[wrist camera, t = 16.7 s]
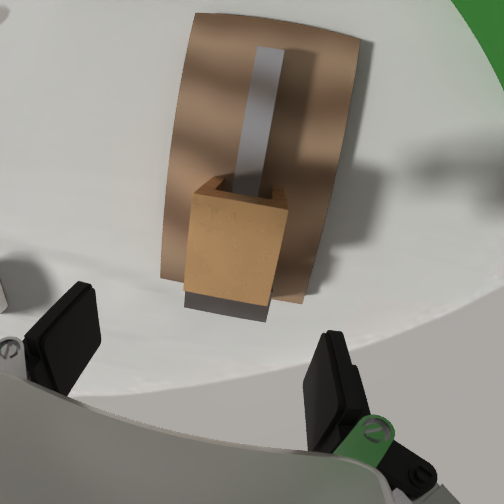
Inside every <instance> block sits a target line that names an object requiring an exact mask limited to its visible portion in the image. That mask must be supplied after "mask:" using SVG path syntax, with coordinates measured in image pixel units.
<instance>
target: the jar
mask: <svg viewBox="0 0 504 504" xmlns="http://www.w3.org/2000/svg"><path fill="white" fill-rule="evenodd" d="M7 307H8V304H7V301H6V298H5V295H4V292H3V289H2V285H1V282H0V313H1V312H3V311H4V310H5V309H6V308H7Z"/></svg>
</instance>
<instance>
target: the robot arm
mask: <svg viewBox="0 0 504 504" xmlns="http://www.w3.org/2000/svg"><path fill="white" fill-rule="evenodd" d="M24 337H25V338H24V340H23V341H21V340H20V339H19V338H17V337H5V338H2V339H1V340H0V504H460V503H459V501H458V500H457V499H456V498H455V497H454V496H453V495H452V494H451V493H450V492H449V491H448V490H447V488H445V486H444V485H443V484H442V485H441V486H439V485H438V483H437V473H436V470H435V469H434V467H433V466H432V465H431V464H430V463H429V462H427V461H425V460H424V459H422V458H421V457H419V456H418V455H416V454H414V453H413V452H411V451H410V450H408V449H407V448H405V447H404V446H402V445H401V444H399V443H398V442H396V441H395V440H394V436H395V430H394V428H393V426H392V424H391V423H390V422H389V421H388V420H387V419H386V418H384V417H381V416H379V415H371V413H370V410H369V406H368V402H367V399H366V395H365V391H364V388H363V385H362V381H361V378H360V374H359V371H358V368H357V366H356V365H352V363H351V359H350V356H349V352H348V349H347V345H346V342H345V339H344V335H343V333H342V332H341V331H333V330H328V331H327V332H326V333H322V335H321V337H320V340H319V342H318V345H317V348H316V350H315V353H314V355H313V358H312V361H311V363H310V366H309V368H308V371H307V373H306V375H305V378H304V381H303V394H304V406H305V418H306V431H307V444H308V451H302V450H290V449H279V448H270V447H261V446H253V445H246V444H238V443H232V442H225V441H219V440H214V439H209V438H203V437H199V436H194V435H189V434H184V433H180V432H176V431H171V430H167V429H163V428H160V427H156V426H152V425H148V424H145V423H141V422H138V421H134V420H131V419H128V418H125V417H122V416H119V415H115V414H112V413H109V412H106V411H103V410H101V409H98V408H95V407H92V406H90V405H87V404H84V403H82V402H79V401H77V400H74V399H72V398H69V397H67V396H68V394H69V392H70V391H71V389H72V388H73V386H74V384H75V383H76V381H77V380H78V378H79V376H80V375H81V373H82V372H83V370H84V369H85V367H86V366H87V364H88V362H89V361H90V359H91V358H92V356H93V355H94V353H95V352H96V350H97V349H98V347H99V346H100V343H101V333H100V326H99V319H98V311H97V303H96V294H95V289H94V288H92V285H91V284H88V283H85V282H81V281H78V282H77V283H76V284H75V285H73V286H72V287H71V288H70V289H69V290H68V291H67V292H66V293H65V294H64V295H63V296H62V297H61V298H60V299H59V300H58V301H57V302H56V303H55V304H54V305H53V306H52V307H51V308H50V309H49V310H48V311H47V312H46V313H45V314H44V315H43V316H42V317H41V318H40V319H39V320H38V322H37V323H36V324H35V325H34V326H33V327H32V328H31V329H30V330H29V331H28V332H27V333H26V334H25V335H24Z"/></svg>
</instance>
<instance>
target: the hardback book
mask: <svg viewBox="0 0 504 504" xmlns="http://www.w3.org/2000/svg"><path fill="white" fill-rule="evenodd" d="M451 1H452V2H453V4H454V5H455V7H456V8H457V9H458V11H459V12H460V14H461V15H462V17H463V18H464V20H465V21H466V23H467V24H468V26H469V27H470V29H471V30H472V32H473V34H474V35H475V37H476V39H477V40H478V42H479V44H480V45H481V47H482V49H483V51H484V52H485V54H486V56H487V58H488V60H489V62H490V63H491V65H492V67H493V69H494V71H495V73H496V75H497V77H498V79H499V81H500V83H501V86H502V88H503V90H504V0H451Z"/></svg>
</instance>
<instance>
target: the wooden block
mask: <svg viewBox="0 0 504 504" xmlns="http://www.w3.org/2000/svg"><path fill="white" fill-rule="evenodd" d="M224 182H225V178H219V177H212V178H211V179H210V180H208V181H207V182H206V183H205V184H204V185H202V186H201V187H200V188H199V189H197V190H196V191H195V192H194V193H193V196H192V204H191V213H190V222H189V232H188V242H187V253H186V264H185V277H184V290H183V291H188V292H193V293H198V294H203V295H208V296H213V297H218V298H224V299H229V300H234V301H240V302H245V303H251V304H257V305H262V306H267V305H268V301H269V297H270V292H271V288H272V284H273V279H274V275H275V270H276V266H277V261H278V257H279V253H280V248H281V243H282V239H283V234H284V230H285V225H286V220H287V216H288V211H289V209H288V204H287V200H286V195H285V190H284V189H282V188H276V187H272V192H271V197H270V199H265V198H259V197H254V196H248V195H243V194H237V193H231V192H225V191H223V188H224Z"/></svg>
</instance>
